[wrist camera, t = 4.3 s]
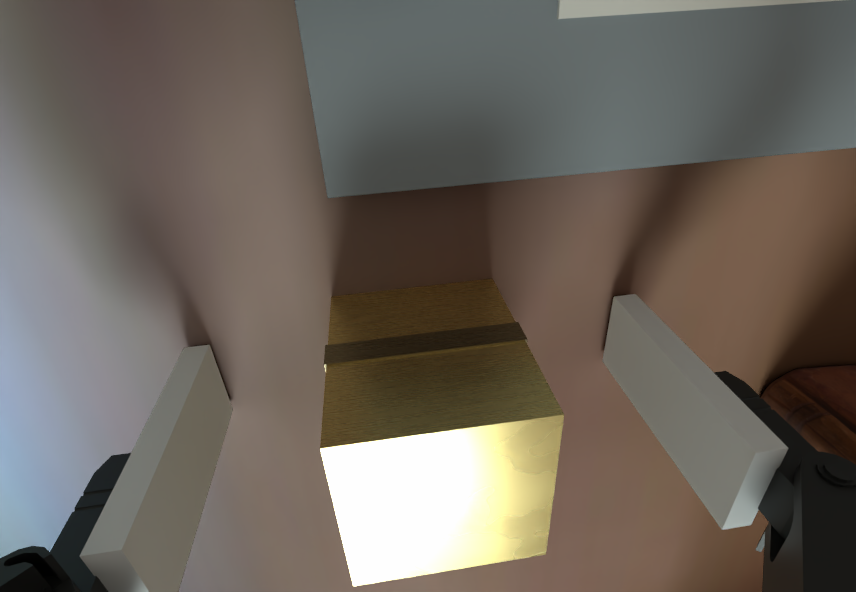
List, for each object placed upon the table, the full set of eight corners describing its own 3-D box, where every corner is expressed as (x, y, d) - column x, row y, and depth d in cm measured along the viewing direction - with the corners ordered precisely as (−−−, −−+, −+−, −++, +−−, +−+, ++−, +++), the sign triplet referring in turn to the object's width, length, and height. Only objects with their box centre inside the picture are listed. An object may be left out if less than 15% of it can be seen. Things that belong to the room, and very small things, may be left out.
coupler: (351, 416, 17) (351, 587, 12) (329, 294, 15) (317, 447, 9) (491, 397, 18) (547, 554, 13) (493, 276, 15) (566, 412, 10)
